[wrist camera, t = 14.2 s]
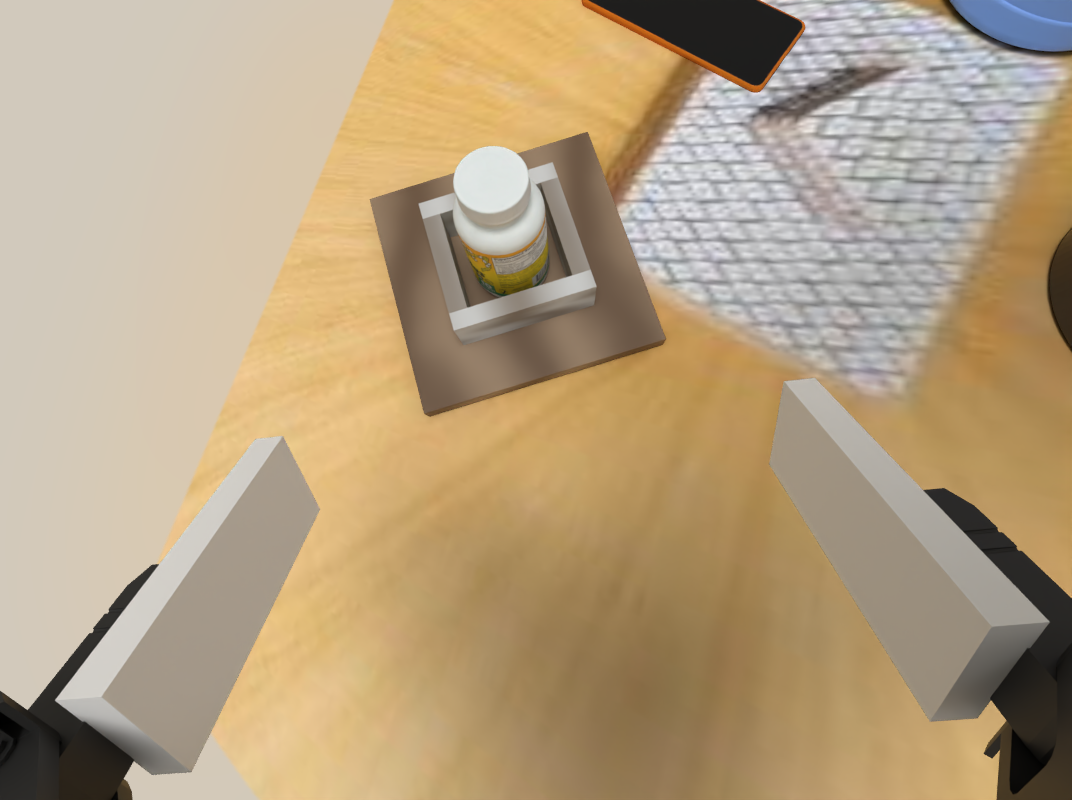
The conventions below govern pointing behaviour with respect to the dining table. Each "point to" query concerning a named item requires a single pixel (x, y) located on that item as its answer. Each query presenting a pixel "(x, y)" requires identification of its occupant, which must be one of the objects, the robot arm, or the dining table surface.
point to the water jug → (1022, 21)
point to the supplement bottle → (501, 221)
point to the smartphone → (713, 33)
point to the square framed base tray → (524, 317)
